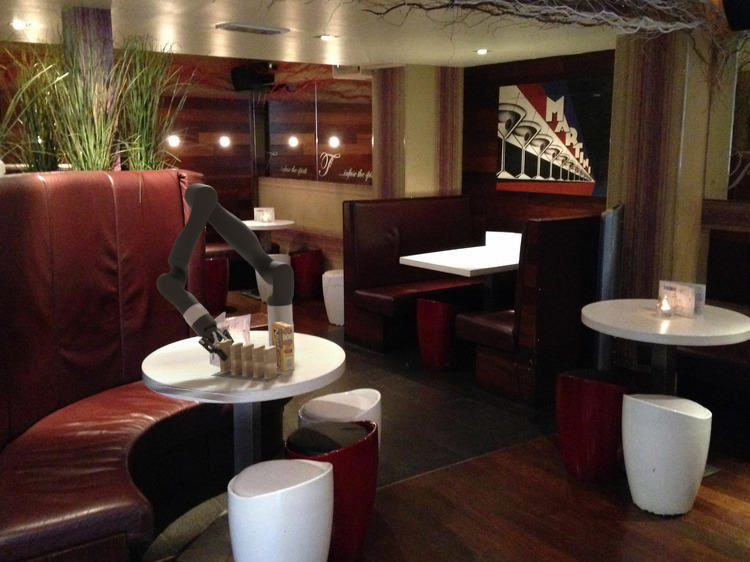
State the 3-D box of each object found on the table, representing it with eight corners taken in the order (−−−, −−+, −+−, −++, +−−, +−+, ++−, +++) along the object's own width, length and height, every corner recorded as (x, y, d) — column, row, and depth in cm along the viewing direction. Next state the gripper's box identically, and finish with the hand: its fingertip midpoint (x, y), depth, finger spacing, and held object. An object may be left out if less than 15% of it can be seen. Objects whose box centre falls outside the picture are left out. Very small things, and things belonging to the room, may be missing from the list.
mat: (228, 368, 247) (228, 367, 247) (283, 375, 238) (283, 374, 238) (210, 376, 238) (210, 375, 238) (267, 383, 229) (267, 382, 229)
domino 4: (253, 377, 234) (252, 348, 232) (261, 373, 238) (260, 344, 237) (257, 378, 233) (256, 348, 231) (266, 374, 237) (264, 344, 236)
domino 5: (264, 379, 232) (263, 349, 230) (273, 375, 236) (271, 345, 235) (268, 379, 231) (267, 349, 230) (277, 375, 236) (276, 346, 234)
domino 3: (242, 376, 235) (241, 346, 234) (251, 372, 240) (249, 343, 238) (246, 377, 235) (245, 347, 233) (255, 373, 239) (253, 343, 238)
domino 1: (220, 371, 239) (219, 342, 237) (229, 368, 243) (228, 339, 242) (224, 372, 238) (223, 343, 237) (233, 368, 243) (232, 339, 241)
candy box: (295, 369, 244) (293, 325, 242) (283, 371, 242) (282, 327, 240) (283, 364, 252) (281, 321, 249) (272, 365, 249) (270, 322, 247)
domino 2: (231, 375, 237) (230, 345, 236) (240, 371, 242) (238, 342, 240) (235, 375, 236) (234, 346, 235) (244, 371, 241) (242, 342, 239)
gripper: (192, 316, 234) (224, 356, 231) (218, 308, 247) (249, 345, 244) (180, 331, 237) (211, 370, 234) (207, 322, 250) (237, 359, 247)
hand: (231, 357), depth 239 cm, fingers closed on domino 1, 5 cm apart
